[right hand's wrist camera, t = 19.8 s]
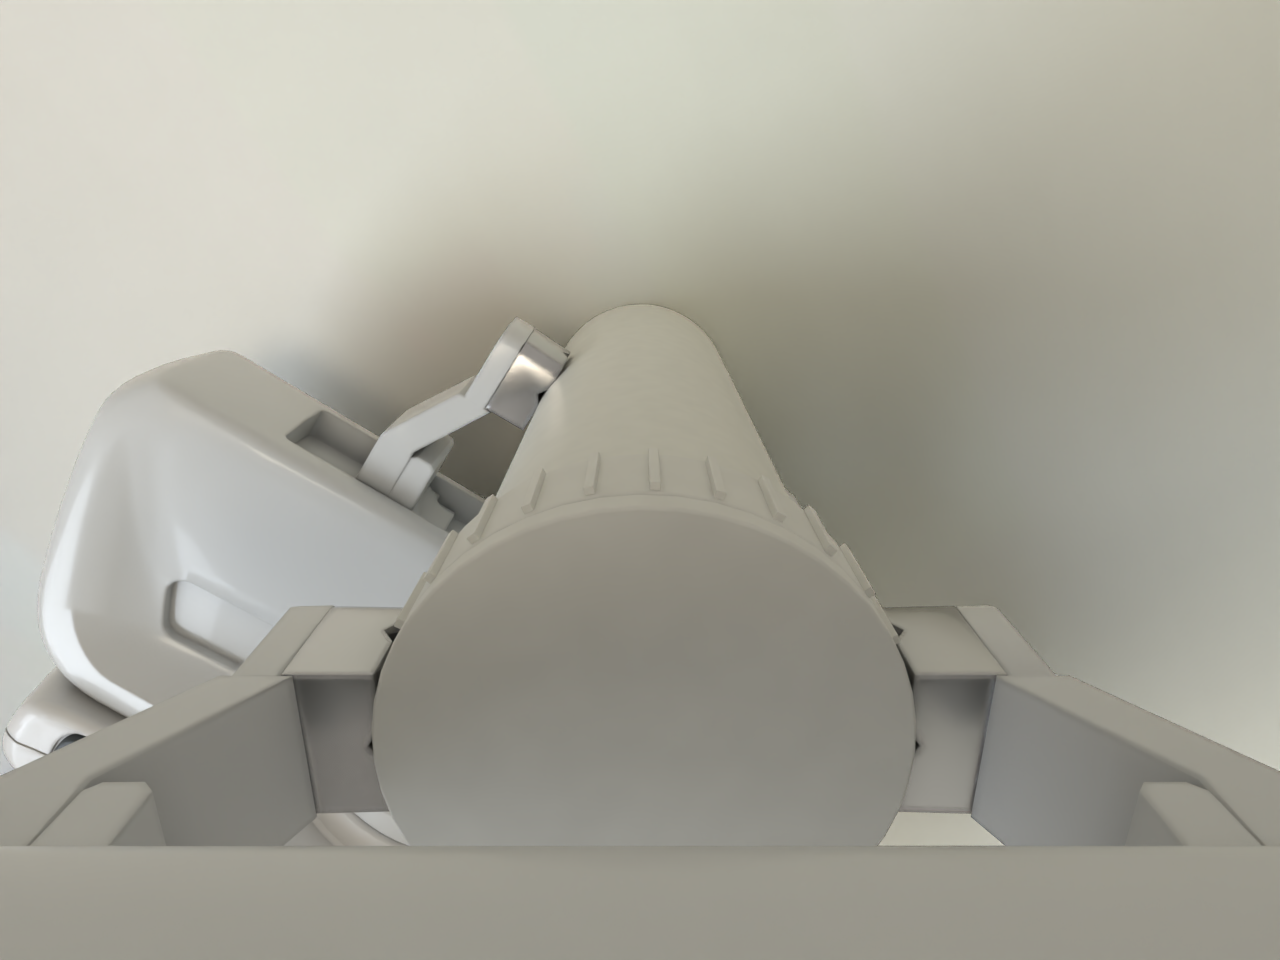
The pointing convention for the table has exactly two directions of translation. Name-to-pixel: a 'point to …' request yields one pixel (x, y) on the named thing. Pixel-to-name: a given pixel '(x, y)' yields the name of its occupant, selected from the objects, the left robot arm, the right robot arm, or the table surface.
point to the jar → (641, 399)
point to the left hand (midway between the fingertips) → (660, 414)
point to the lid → (643, 671)
